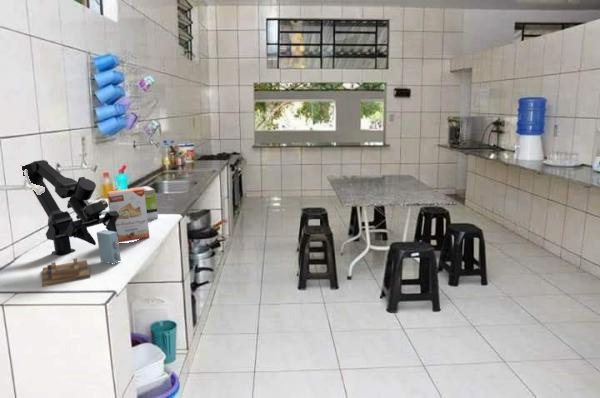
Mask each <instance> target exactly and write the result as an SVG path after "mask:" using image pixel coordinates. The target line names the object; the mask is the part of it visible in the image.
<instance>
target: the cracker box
mask: <svg viewBox="0 0 600 398" xmlns="http://www.w3.org/2000/svg"><path fill="white" fill-rule="evenodd" d="M134 188H135V189H129V188H126V189H120V190H112V191H107V192H106V195H107V201H108V202H107V203H108V209H109V210H108V212H110V211H117V212H118V213H119V217H118V219H117V221H116V222H115V224H116V229H117V233H118V243H119V244H120V243H125V242H129V241H135V240H136V241H137V240H143V239H148V238H150V230H149V220H147V211H146V202H145V194H144V189H142V188H137V187H134Z"/></svg>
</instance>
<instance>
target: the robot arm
mask: <svg viewBox="0 0 600 398" xmlns="http://www.w3.org/2000/svg"><path fill="white" fill-rule="evenodd" d="M24 165H25V166H22V165H21V166H22V170H23V171H24V170H25V169H27V170H28V176H29V179H30V181H31V183H33V184H36V185H40V186H43V187H45V192H44V193H42V194H41V195H37V194H36V192H35V191H34V190H32V192H33V194H34V195H35V197H36V199H37V201H38V202H39V204H40V205H41V207H42V209H43V211H44V213H46V215H47V218H48V219H47V226H48V228H47V231H46V233H45V237H46V239H47V240H51V241H53V247H54V251H51V252H52V253H51V254H53V253H54V254H53V255H56V254H57V256H62V255H65V254H69V253H72V252H76V249H74V248H72V246H71V240H70V238H75V239H76V238H77V239H79V240H82V241H85V242H87V243H88V244H91V245H93V246H96V244H97V242H96V240H95V239H94V238H93V235H91V233H90V232H89V230H88V228H90V227H93V226H97V225H101V224H103V226H104V227H105V230H106V231H113V232H117V229H116V224H115V222H116V221H117V219H118V217H119V213H118V212H117V211H108V212H105V214H104V215H103V217H101V216H102V214H103V213H102V212H103V211H106V209H107V208H109V204H108V202H107V200H106V199H104V198H103V199H100V200H99V201H97V202H92V203H90V202H89V200H91V198H92V196H93V193H94V191H95V190H96V188H97V185H96V182H94V181H93V180H91V179H89V178H86V177H85V176H81V177H78V180H75V179H74V178H71V177H66V176H64V175H62V174H61V173H60V172H59V171H58V170H57V169H55V168H54V167H53V166H52V165H50V164H49V162H48V161H47V160H45V159H41V160H34V161H33V162H30V163H28V164H24ZM23 176H25V175H24V172H23ZM44 179H45V180H46V181H47V182H49V184H51V185H52V186H53V187H54V192H55V193H56V195H58V197H59V198H60V199H64V200H65V199H68V198H69V199H68V200H67V204H66V205H67V206H66V208H67V209H72V210H73V211H74V213H75V214H76V216H75V219H77V220H74V219H73V218H72V216H71V214H70V212H68V211H67V210H66V211H63V210H61V208H60V207H59V205H58V203H57V202H56V200H55V199H54V197H53V195H52V194H51V192H50V190H49V188H48V186H47V185H46V184H45V181H44ZM117 236H118V233H117Z"/></svg>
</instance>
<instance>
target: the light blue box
mask: <svg viewBox="0 0 600 398" xmlns="http://www.w3.org/2000/svg"><path fill="white" fill-rule="evenodd" d="M96 236H97V243H98V250H99V258H100V262H101V261H103V262H102V263H104V262H109V263H113V264H112V265H115V264H114V263H116V262H118V261H121V262H122V258H121V251H120V242H119V243H118V236H117V232H113V231H108V230H107V229H104V230H100V231H97V232H96ZM109 263H108V264H109ZM116 264H117V263H116Z"/></svg>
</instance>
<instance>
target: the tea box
mask: <svg viewBox="0 0 600 398" xmlns="http://www.w3.org/2000/svg"><path fill="white" fill-rule="evenodd" d="M135 188H142V189H144V194H145V202H146V211H147V220H148V221H150V220H155V219H158V218H159V213H158V204H157V195H156V194H157V193H156V189H155V188H153V187H151V186H148V185H147V186H146V185H145V186H137V187H130V188H128V189H135Z"/></svg>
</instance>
